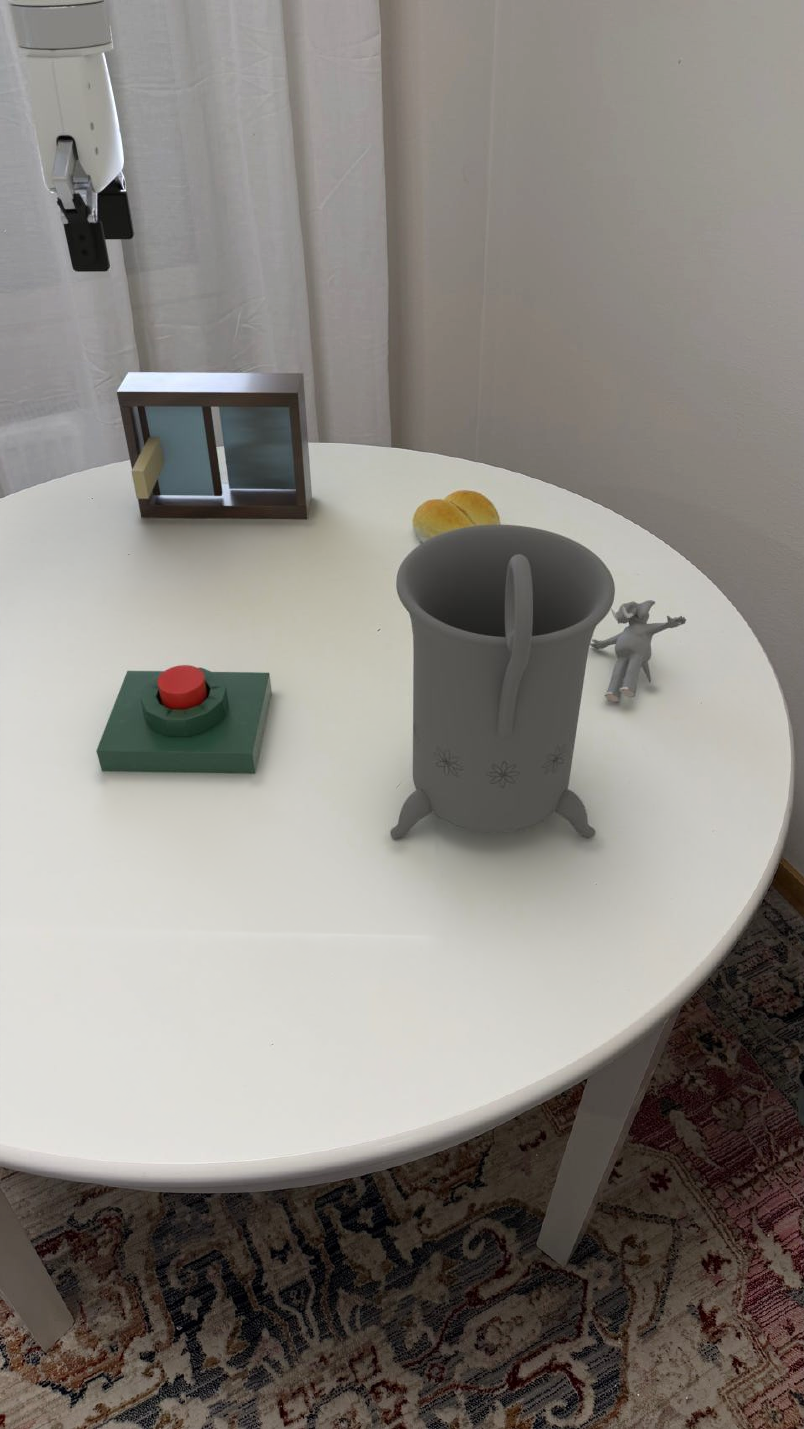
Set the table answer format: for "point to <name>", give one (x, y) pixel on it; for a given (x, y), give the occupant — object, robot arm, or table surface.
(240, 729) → the button box
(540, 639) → the mug
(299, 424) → the window frame
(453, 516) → the bread roll
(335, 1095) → the table surface
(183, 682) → the button
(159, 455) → the window pane
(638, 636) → the elephant figurine
